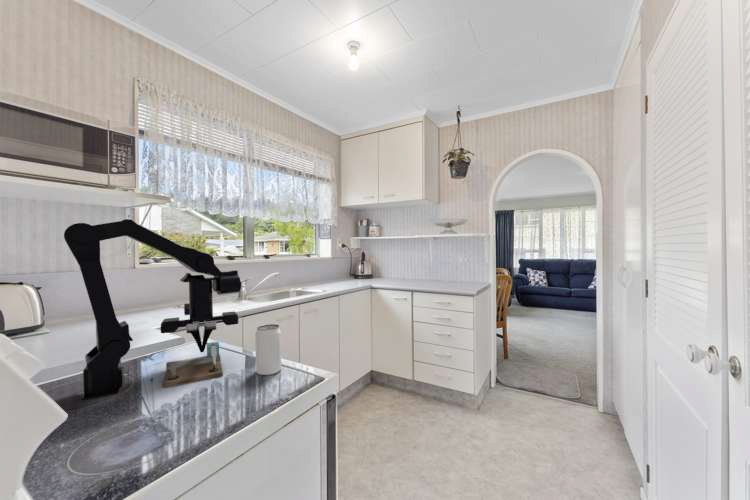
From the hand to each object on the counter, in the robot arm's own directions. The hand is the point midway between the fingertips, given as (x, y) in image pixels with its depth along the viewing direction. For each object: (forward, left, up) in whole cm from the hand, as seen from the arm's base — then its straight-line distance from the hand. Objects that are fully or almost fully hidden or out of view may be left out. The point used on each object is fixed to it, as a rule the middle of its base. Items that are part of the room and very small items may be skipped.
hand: (202, 351), depth 88 cm
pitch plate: (-2, -5, -4) cm, 6 cm away
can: (+15, -14, -4) cm, 21 cm away
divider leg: (+3, -3, -3) cm, 5 cm away
